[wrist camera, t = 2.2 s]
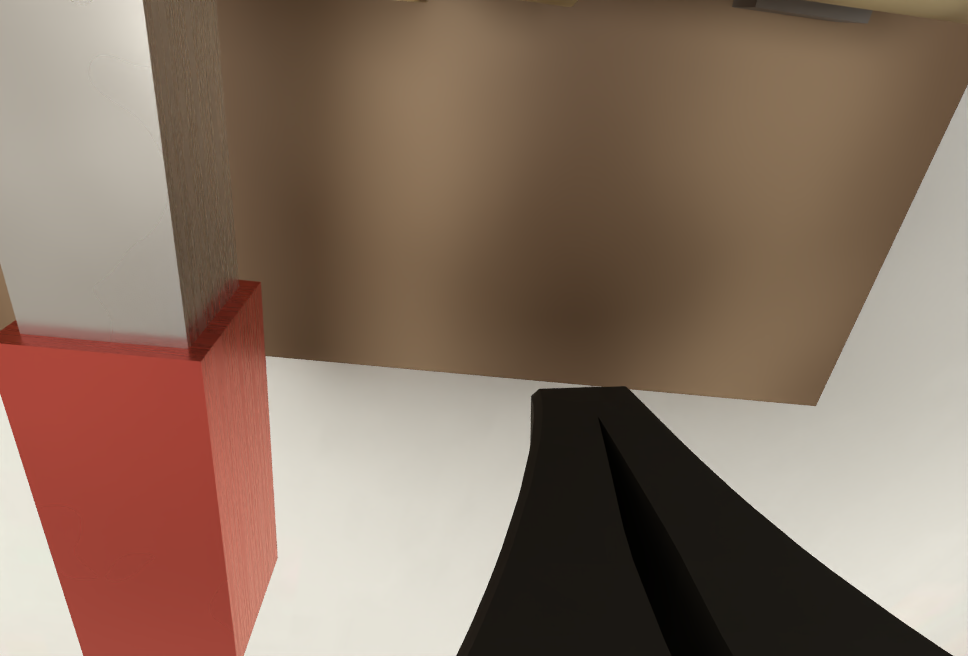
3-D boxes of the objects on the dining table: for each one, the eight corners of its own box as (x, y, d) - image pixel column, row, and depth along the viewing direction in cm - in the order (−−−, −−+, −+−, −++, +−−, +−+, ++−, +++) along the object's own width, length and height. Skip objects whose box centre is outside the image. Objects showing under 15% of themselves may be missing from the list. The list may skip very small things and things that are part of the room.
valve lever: (-116, -629, 4) (-512, -1057, 2) (239, -552, 4) (93, -902, 3) (139, 548, 10) (70, 661, 8) (289, 558, 10) (252, 672, 8)
